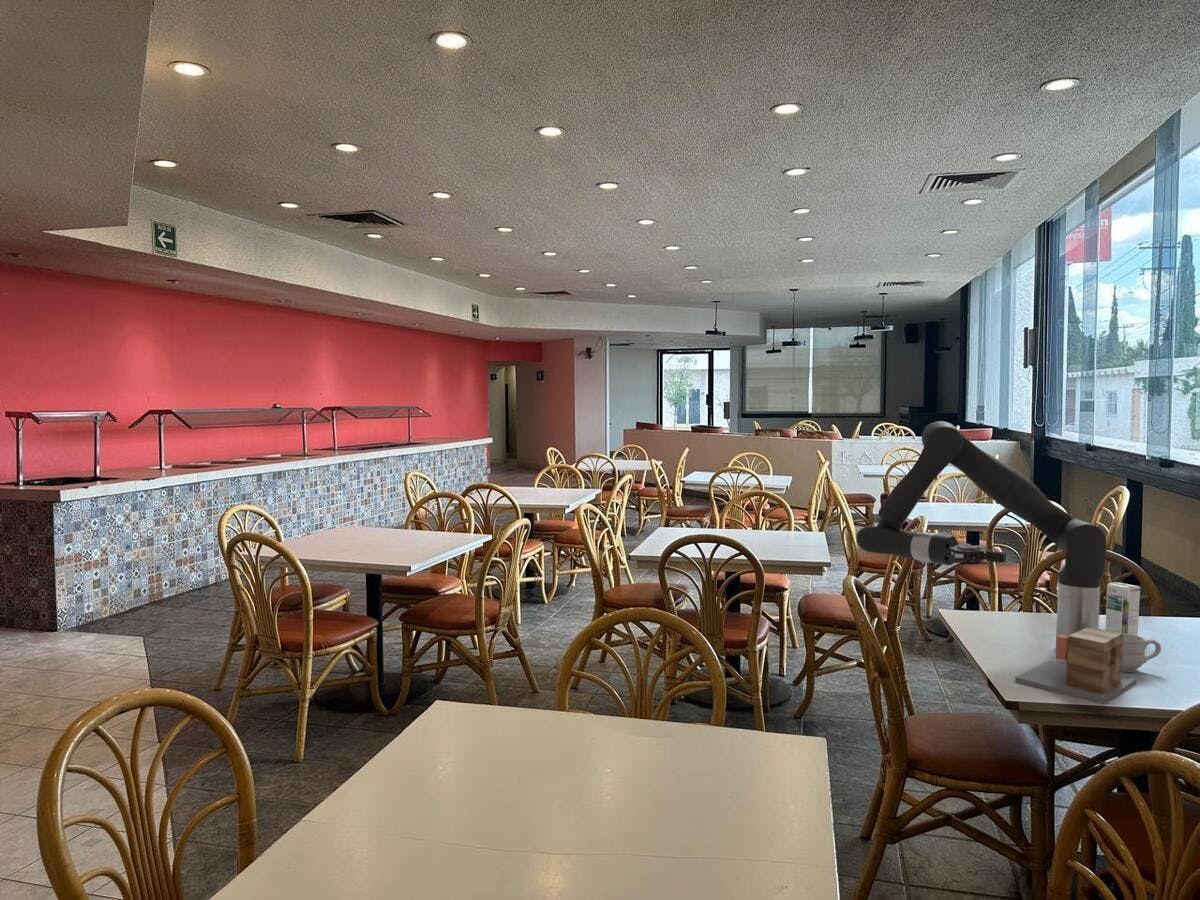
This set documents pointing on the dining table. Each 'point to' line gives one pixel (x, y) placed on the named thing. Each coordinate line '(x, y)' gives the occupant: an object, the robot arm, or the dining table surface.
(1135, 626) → the syrup box
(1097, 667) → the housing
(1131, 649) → the teacup
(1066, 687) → the base mat
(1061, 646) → the red headed square peg
